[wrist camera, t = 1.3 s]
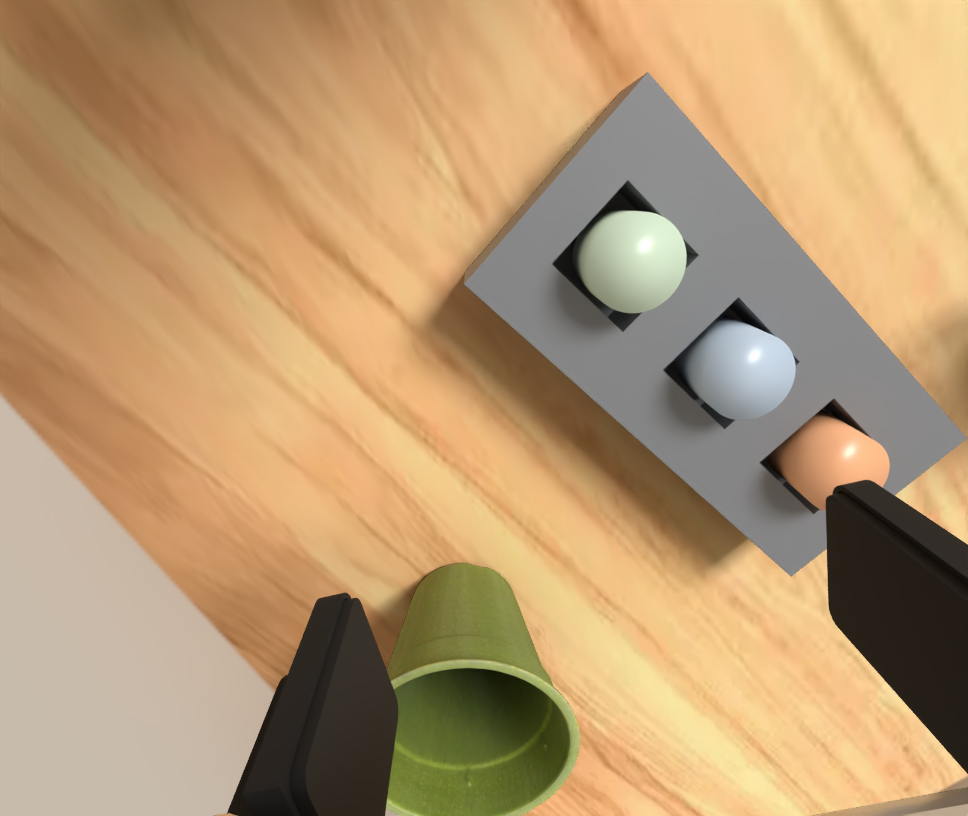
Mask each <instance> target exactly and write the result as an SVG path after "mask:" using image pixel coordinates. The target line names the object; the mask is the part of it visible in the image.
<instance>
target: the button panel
mask: <svg viewBox="0 0 968 816" xmlns="http://www.w3.org/2000/svg"><path fill="white" fill-rule="evenodd" d="M613 210H628V211H642V212H651V213H655V214H658V215H660V216H662V217H664V218H666V219H667V220H669V221H670V222H671V223H672V224H673V225H674V226H675V227H676V228H677V229H678V231H679V232H680V234H681V236H682V238H683V240H684V243H685V247H686V254H687V256H686V268H685V272H684V275H683V278H682V280H681V282H680V284H679V286H678V288H677V289H676V290H675V292H674V293H673V294H672V295H671V296H670V297H669V298H668V299H667V300H666V301H665V302H664V303H662V304H661V305H659V306H657V307H656V308H654V309H651V310H649V311H645V312H641V313H624V312H620V311H616V310H614V309H612V308H610V307H609V306H607V305H605V304H604V303H603V302H602V301H600V300H599V299H598V298H596V297H595V296H594V295H593V294H591V293H590V292H589V291H587V290H586V289H585V288H584V287H583V286H582V285H581V283H580V282H579V281H578V279H577V277H576V275H575V272H574V269H573V263H572V254H573V247H574V244H575V241H576V239H577V237H578V235H579V233H580V232H581V231H582V230H583V229H584V228H585V227H586V225H587V224H588V223H589V222H590V221H591V220H592V219H593V218H594V217H596V216H598V215H600V214H602V213H604V212H608V211H613ZM464 285H465V286H467V287H468V288H469V289H470V290H471V291H472V292H473V293H474V294H475V295H477V296H478V297H479V298H480V299H481V300H482V301H483V302H484V303H486V304H487V305H488V306H489V307H490V308H491V309H492V310H493V311H495V312H496V313H497V314H498V315H499V316H500V317H501V318H502V319H503V320H505V321H506V322H507V323H508V324H509V325H510V326H511V327H512V328H514V329H515V330H516V331H517V332H518V333H519V334H520V335H521V336H522V337H524V338H525V339H526V340H527V341H528V342H529V343H530V344H531V345H533V346H534V347H535V348H536V349H537V350H538V351H539V352H540V353H541V354H543V355H544V356H545V357H546V358H547V359H548V360H549V361H550V362H552V363H553V364H554V365H555V366H556V367H557V368H558V369H559V370H561V371H562V372H563V373H564V374H565V375H566V376H567V377H568V378H569V379H571V380H572V381H573V382H574V383H575V384H576V385H577V386H578V387H580V388H581V389H582V390H583V391H584V392H585V393H586V394H587V395H588V396H590V397H591V398H592V399H593V400H594V401H595V402H596V403H597V404H599V405H600V406H601V407H602V408H603V409H604V410H605V411H606V412H608V413H609V414H610V415H611V416H612V417H613V418H614V419H615V420H616V421H618V422H619V423H620V424H621V425H622V426H623V427H624V428H625V429H627V430H628V431H629V432H630V433H631V434H632V435H633V436H634V437H635V438H637V439H638V440H639V441H640V442H641V443H642V444H643V445H644V446H646V447H647V448H648V449H649V450H650V451H651V452H652V453H653V454H655V455H656V456H657V457H658V458H659V459H660V460H661V461H662V462H663V463H665V464H666V465H667V466H668V467H669V468H670V469H671V470H672V471H674V472H675V473H676V474H677V475H678V476H679V477H680V478H681V479H682V480H684V481H685V482H686V483H687V484H688V485H689V486H690V487H691V488H693V489H694V490H695V491H696V492H697V493H698V494H699V495H700V496H702V497H703V498H704V499H705V500H706V501H707V502H708V503H709V504H710V505H712V506H713V507H714V508H715V509H716V510H717V511H718V512H719V513H721V514H722V515H723V516H724V517H725V518H726V519H727V520H728V521H729V522H731V523H732V524H733V525H734V526H735V527H736V528H737V529H738V530H740V531H741V532H742V533H743V534H744V535H745V536H746V537H747V538H748V539H750V540H751V541H752V542H753V543H754V544H755V545H756V546H757V547H759V548H760V549H761V550H762V551H763V552H764V553H765V554H766V555H768V556H769V557H770V558H771V559H772V560H773V561H774V562H775V563H776V564H778V565H779V566H780V567H781V568H782V569H783V570H784V571H785V572H787V573H788V574H789V575H790V576H793V575H794V574H795V573H796V572H798V571H799V570H800V569H801V568H803V567H804V566H805V565H807V564H808V563H809V562H810V561H812V560H813V559H814V558H815V557H817V556H818V555H819V554H821V553H822V552H823V551H824V550H826V549H827V535H826V511H823V510H821V509H819V508H817V507H815V506H814V505H813V504H812V503H811V502H809V501H808V500H807V499H806V498H805V497H804V496H803V495H802V494H800V493H799V492H798V491H797V490H796V489H795V488H794V487H793V486H791V485H790V484H789V483H788V482H787V481H786V480H785V479H784V478H782V477H781V476H780V475H779V474H778V473H777V472H776V471H775V470H773V469H772V467H771V466H770V465H769V463H768V461H767V458H766V457H767V456H768V455H769V454H770V453H771V452H772V451H773V450H775V449H776V448H777V447H778V446H779V445H780V444H782V443H783V442H784V441H785V440H786V439H787V438H789V437H790V436H791V435H792V434H793V433H794V432H795V431H797V430H798V429H799V428H800V427H801V426H802V425H804V424H805V423H806V422H807V421H808V420H809V419H811V418H812V417H813V416H814V415H815V414H816V413H818V412H819V411H820V410H823V411H825V412H828V413H829V414H831V415H833V416H834V417H836V418H838V419H839V420H841V421H843V422H844V423H846V424H848V425H849V426H851V427H853V428H854V429H856V430H858V431H859V432H861V433H863V434H865V435H866V436H868V437H870V438H871V439H873V440H875V441H876V442H878V443H879V444H880V445H881V446H882V447H883V448H884V449H885V451H886V452H887V454H888V457H889V463H890V469H889V474H888V477H887V480H886V482H885V484H884V486H883V487H882V488H884V489H885V490H887V491H888V492H890V493H891V494H893V495H896V494H897V493H898V492H900V491H901V490H902V489H903V488H905V487H906V486H907V485H908V484H910V483H911V482H912V481H914V480H915V479H916V478H917V477H919V476H920V475H921V474H922V473H924V472H925V471H926V470H928V469H929V468H930V467H931V466H933V465H934V464H935V463H936V462H938V461H939V460H940V459H942V458H943V457H944V456H945V455H947V454H948V453H949V452H950V451H952V450H953V449H954V448H956V447H957V446H958V445H959V444H961V443H962V442H963V441H964V440H966V439H967V437H966V436H965V435H964V434H963V433H962V432H961V431H960V429H959V428H958V427H957V426H956V425H955V424H954V423H953V421H952V420H951V419H950V418H949V417H948V416H947V415H946V413H945V412H944V411H943V410H942V409H941V408H940V407H939V405H938V404H937V403H936V402H935V401H934V400H933V399H932V397H931V396H930V395H929V394H928V393H927V392H926V390H925V389H924V388H923V387H922V386H921V385H920V384H919V382H918V381H917V380H916V379H915V378H914V377H913V376H912V374H911V373H910V372H909V371H908V370H907V369H906V368H905V366H904V365H903V364H902V363H901V362H900V361H899V360H898V358H897V357H896V356H895V355H894V354H893V353H892V352H891V350H890V349H889V348H888V347H887V346H886V345H885V343H884V342H883V341H882V340H881V339H880V338H879V337H878V335H877V334H876V333H875V332H874V331H873V330H872V329H871V327H870V326H869V325H868V324H867V323H866V322H865V321H864V319H863V318H862V317H861V316H860V315H859V314H858V313H857V311H856V310H855V309H854V308H853V307H852V306H851V305H850V303H849V302H848V301H847V300H846V299H845V298H844V296H843V295H842V294H841V293H840V292H839V291H838V290H837V288H836V287H835V286H834V285H833V284H832V283H831V282H830V280H829V279H828V278H827V277H826V276H825V275H824V274H823V272H822V271H821V270H820V269H819V268H818V267H817V266H816V264H815V263H814V262H813V261H812V260H811V259H810V258H809V256H808V255H807V254H806V253H805V252H804V251H803V249H802V248H801V247H800V246H799V245H798V244H797V243H796V241H795V240H794V239H793V238H792V237H791V236H790V235H789V233H788V232H787V231H786V230H785V229H784V228H783V227H782V225H781V224H780V223H779V222H778V221H777V220H776V219H775V217H774V216H773V215H772V214H771V213H770V212H769V211H768V209H767V208H766V207H765V206H764V205H763V204H762V202H761V201H760V200H759V199H758V198H757V197H756V196H755V194H754V193H753V192H752V191H751V190H750V189H749V188H748V186H747V185H746V184H745V183H744V182H743V181H742V180H741V178H740V177H739V176H738V175H737V174H736V173H735V172H734V170H733V169H732V168H731V167H730V166H729V165H728V164H727V162H726V161H725V160H724V159H723V158H722V157H721V156H720V154H719V153H718V152H717V151H716V150H715V149H714V147H713V146H712V145H711V144H710V143H709V142H708V141H707V139H706V138H705V137H704V136H703V135H702V134H701V133H700V131H699V130H698V129H697V128H696V127H695V126H694V125H693V123H692V122H691V121H690V120H689V119H688V118H687V117H686V115H685V114H684V113H683V112H682V111H681V110H680V109H679V107H678V106H677V105H676V104H675V103H674V102H673V100H672V99H671V98H670V97H669V96H668V95H667V94H666V92H665V91H664V90H663V89H662V88H661V87H660V86H659V84H658V83H657V82H656V81H655V80H654V79H653V78H652V76H651V75H650V74H649V73H646V74H645V75H643V76H642V77H640V78H639V79H638V80H636V81H635V82H633V83H632V84H631V85H629V86H628V87H626V88H625V89H624V90H622V91H621V92H620V93H619V94H618V95H617V97H616V98H615V99H614V100H613V101H612V102H611V104H610V105H609V106H608V107H607V108H606V109H605V111H604V112H603V113H602V114H601V115H600V116H599V117H598V119H597V120H596V121H595V122H594V123H593V124H592V126H591V127H590V128H589V129H588V130H587V131H586V133H585V134H584V135H583V136H582V137H581V138H580V140H579V141H578V142H577V143H576V144H575V145H574V146H573V148H572V149H571V150H570V151H569V152H568V153H567V155H566V156H565V157H564V158H563V159H562V160H561V162H560V163H559V164H558V165H557V166H556V167H555V168H554V170H553V171H552V172H551V173H550V174H549V175H548V177H547V178H546V179H545V180H544V181H543V182H542V184H541V185H540V186H539V187H538V188H537V189H536V191H535V192H534V193H533V194H532V195H531V196H530V197H529V199H528V200H527V201H526V202H525V203H524V204H523V206H522V207H521V208H520V209H519V210H518V211H517V213H516V214H515V215H514V216H513V217H512V218H511V220H510V221H509V222H508V223H507V224H506V225H505V226H504V228H503V229H502V230H501V231H500V232H499V233H498V235H497V236H496V237H495V238H494V239H493V240H492V242H491V243H490V244H489V245H488V246H487V247H486V249H485V250H484V251H483V252H482V253H481V254H480V255H479V257H478V258H477V259H476V260H475V261H474V262H473V264H472V265H471V266H470V267H469V268H468V269H467V271H466V272H465V275H464ZM718 316H728V317H732V318H735V319H737V320H740V321H742V322H744V323H746V324H749V325H751V326H753V327H755V328H757V329H760V330H762V331H764V332H766V333H769V334H771V335H773V336H775V337H777V338H779V339H781V340H782V341H783V342H784V343H785V344H786V345H787V346H788V347H789V348H790V350H791V352H792V354H793V356H794V360H795V366H796V372H795V378H794V382H793V385H792V387H791V389H790V391H789V393H788V395H787V396H786V398H785V399H784V400H783V401H782V402H781V403H780V404H779V405H778V406H777V407H776V408H775V409H773V410H772V411H770V412H769V413H767V414H765V415H763V416H761V417H758V418H754V419H750V420H734V419H730V418H727V417H724V416H722V415H721V414H719V413H718V412H716V411H715V410H714V409H713V408H712V407H711V406H709V405H708V404H707V403H706V402H705V401H704V400H702V399H701V398H700V397H699V396H698V395H697V394H695V393H694V392H693V391H692V390H691V389H690V388H688V387H687V386H686V385H685V384H684V383H683V382H682V381H681V379H680V378H679V376H678V373H677V370H676V365H675V358H676V357H677V356H678V355H679V354H680V353H681V352H682V351H683V350H684V349H685V348H686V347H687V346H688V345H689V344H690V343H691V342H693V341H694V340H695V339H696V338H697V337H698V336H699V335H700V334H701V333H702V332H703V331H704V330H705V329H706V328H707V327H708V326H709V325H710V324H711V323H712V322H713V321H714V320H715V319H716V318H717V317H718Z"/></svg>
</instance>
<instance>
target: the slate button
mask: <svg viewBox="0 0 968 816" xmlns="http://www.w3.org/2000/svg"><path fill="white" fill-rule="evenodd" d="M675 365H676V370H677V373H678V376H679V378H680V379H681V381H682V382H683V383H684V384H685V385H686V386H687V387H688V388H690V389H691V390H692V391H693V392H694V393H695V394H697V395H698V396H699V397H700V398H701V399H702V400H704V401H705V402H706V403H707V404H708V405H709V406H711V407H712V408H713V409H714V410H715V411H716V412H718V413H719V414H721V415H722V416H724V417H727V418H730V419H734V420H750V419H754V418H758V417H761V416H763V415H765V414H767V413H769V412H770V411H772V410H773V409H775V408H776V407H777V406H778V405H779V404H780V403H781V402H782V401H783V400H784V399H785V398H786V396H787V395H788V393H789V391H790V389H791V387H792V385H793V382H794V378H795V372H796V366H795V360H794V356H793V354H792V352H791V350H790V348H789V347H788V346H787V345H786V344H785V343H784V342H783V341H782V340H781V339H779V338H777V337H775V336H773V335H771V334H769V333H766V332H764V331H762V330H760V329H757V328H755V327H753V326H751V325H749V324H746V323H744V322H742V321H740V320H737V319H735V318H732V317H728V316H718V317H717V318H716V319H715V320H714V321H713V322H712V323H711V324H710V325H709V326H708V327H707V328H706V329H705V330H704V331H703V332H702V333H701V334H700V335H699V336H698V337H697V338H696V339H695V340H694V341H693V342H691V343H690V344H689V345H688V346H687V347H686V348H685V349H684V350H683V351H682V352H681V353H680V354H679V355H678V356H677V357H676V358H675Z"/></svg>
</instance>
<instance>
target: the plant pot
mask: <svg viewBox="0 0 968 816" xmlns="http://www.w3.org/2000/svg"><path fill="white" fill-rule="evenodd" d="M387 673H388V675H389V678H390V681H391V683H392V686H393V689H394V691H395V694H396V697H397V701H398V723H397V730H396V737H395V745H394V752H393V759H392V767H391V774H390V781H389V789H388V796H387V804H386V808H387V809H388V810H390V811H392V812H394V813H396V814H397V815H400V816H522V815H523V814H525V813H528V812H530V811H531V810H533V809H534V808H535V807H536V806H538V805H540V804H542V803H543V802H545V801H546V800H547V799H549V798H550V797H551V796H552V795H553V794H555V793H556V792H557V791H558V790H559V788H560V787H561V786H562V785H563V783H564V782H565V781H566V780H567V778H568V776H569V775H570V774H571V772H572V770H573V768H574V766H575V763H576V760H577V757H578V753H579V745H580V733H579V727H578V723H577V720H576V718H575V715H574V713H573V711H572V709H571V707H570V705H569V704H568V702H567V701H566V700H565V698H564V697H563V696H562V695H561V694H560V692H559V691H558V690H556V689H555V688H554V686H553V684H552V681H551V679H550V677H549V675H548V674H547V672H546V671H545V669H544V668H543V667H542V665H541V662H540V660H539V657H538V655H537V652H536V650H535V647H534V644H533V642H532V639H531V637H530V634H529V632H528V629H527V626H526V624H525V621H524V619H523V616H522V614H521V611H520V608H519V606H518V603H517V601H516V598H515V596H514V593H513V591H512V588H511V587H510V585H509V584H508V582H507V581H506V580H505V579H504V578H503V577H502V576H501V575H500V574H498V573H497V572H496V571H494V570H492V569H490V568H484V567H479V566H475V565H471V564H468V563H456V564H452V565H447V566H444V567H442V568H439V569H437V570H435V571H434V572H432V573H431V574H429V575H428V576H427V577H426V578H424V579H423V580H422V582H421V583H420V584H419V586H418V587H417V589H416V591H415V593H414V595H413V598H412V600H411V603H410V606H409V609H408V611H407V614H406V617H405V620H404V623H403V626H402V629H401V631H400V634H399V637H398V640H397V643H396V645H395V648H394V651H393V654H392V656H391V659H390V662H389V665H388V667H387Z"/></svg>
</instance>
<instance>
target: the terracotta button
mask: <svg viewBox="0 0 968 816" xmlns="http://www.w3.org/2000/svg"><path fill="white" fill-rule="evenodd" d="M766 458H767V461H768V463H769V465H770V466H771V467H772V469H773V470H775V471H776V472H777V473H778V474H779V475H780V476H781V477H782V478H784V479H785V480H786V481H787V482H788V483H789V484H790V485H791V486H793V487H794V488H795V489H796V490H797V491H798V492H799V493H800V494H802V495H803V496H804V497H805V498H806V499H807V500H808V501H809V502H811V503H812V504H813V505H814V506H815V507H817V508H819V509H821V510H823V511H826V498H827V497H828V496H829V495H832V494H833V490H834V488H835V487H836V486H839V485H843V484H848V483H853V482H857V481H862V480H871V481H873V482H875V483H876V484H878V485H879V486H881V487H883V486H884V484H885V482H886V480H887V477H888V474H889V469H890V463H889V457H888V454H887V452H886V451H885V449H884V448H883V447H882V446H881V445H880V444H879V443H878V442H876V441H875V440H873V439H871V438H870V437H868V436H866V435H865V434H863V433H861V432H859V431H858V430H856V429H854V428H853V427H851V426H849V425H848V424H846V423H844V422H843V421H841V420H839V419H838V418H836V417H834V416H833V415H831V414H829V413H828V412H825V411H823V410H820V411H819V412H818V413H816V414H815V415H814V416H813V417H812V418H811V419H809V420H808V421H807V422H806V423H805V424H804V425H802V426H801V427H800V428H799V429H798V430H797V431H795V432H794V433H793V434H792V435H791V436H790V437H789V438H787V439H786V440H785V441H784V442H783V443H782V444H780V445H779V446H778V447H777V448H776V449H775V450H773V451H772V452H771V453H770V454H769V455H768V456H767V457H766Z"/></svg>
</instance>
